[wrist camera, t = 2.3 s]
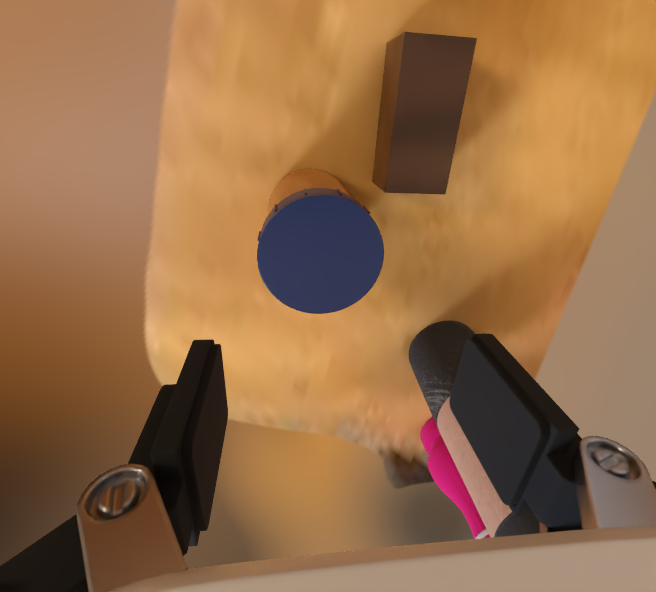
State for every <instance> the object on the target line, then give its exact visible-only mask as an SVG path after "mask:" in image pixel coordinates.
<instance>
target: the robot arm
mask: <svg viewBox="0 0 656 592" xmlns="http://www.w3.org/2000/svg"><path fill="white" fill-rule="evenodd" d="M449 403H450V408H451V411H452V413H453V414H454V416H455V418H456V420H457V422H458V423H459V425H460V427H461V429H462V431H463V432H464V434H465V436H466V438H467V440H468V441H469V443H470V445H471V447H472V449H473V450H474V452H475V454H476V456H477V458H478V459H479V461H480V463H481V465H482V467H483V468H484V470H485V472H486V474H487V476H488V477H489V479H490V481H491V483H492V485H493V486H494V488H495V490H496V492H497V494H498V496H499V497H500V499H501V501H502V502H503V503H504V504H505V505H508V506H509V507H510V509H511V511H512V513H513V514H514V516H515V517H526V516H533V515H534V514H535V516H536V517H537V519H538V521H539V528H540V533H537V534H526V535H515V536H503V537H492V538H481V539H471V540H460V541H449V542H439V543H428V544H418V545H407V546H397V547H387V548H377V549H367V550H356V551H346V552H336V553H327V554H316V555H306V556H297V557H286V558H277V559H267V560H259V561H251V562H242V563H234V564H226V565H217V566H209V567H201V568H196V569H190V570H188V568H187V565H186V562H185V559H184V557H183V556H184V555H185V554H186V553H187V550H188V546H197V544H198V539H199V534H200V531H206V530H207V528H208V525H209V520H210V514H211V508H212V503H213V498H214V492H215V486H216V481H217V475H218V470H219V464H220V458H221V453H222V447H223V442H224V436H225V430H226V425H227V419H228V407H227V398H226V388H225V379H224V370H223V361H222V352H221V345H220V344H214V340H194V341H193V342H192V345H191V347H190V350H189V353H188V355H187V358H186V360H185V363H184V365H183V368H182V371H181V373H180V376H179V378H178V381H177V384H173V385H164V386H162V388H161V389H160V391H159V394H158V396H157V398H156V401H155V403H154V405H153V407H152V410H151V412H150V414H149V417H148V419H147V421H146V424H145V426H144V428H143V430H142V433H141V435H140V437H139V439H138V442H137V444H136V446H135V449H134V451H133V453H132V455H131V458H130V460H129V462H128V464H124V465H120V466H117V467H114V468H111V469H109V470H107V471H106V472H104V473H102V474H100V475H99V476H98V477H96V478H95V479H94V480H93V481H92V482H91V483H89V485H88V486H87V487H86V488H85V490H84V491H83V492H82V494H81V496H80V498H79V501H78V503H77V512H76V515H74V516H73V517H72V518H70V519H69V520H67V521H66V522H64V523H63V524H61V525H60V526H59V527H57V528H55V529H54V530H53V531H51V532H50V533H48V534H47V535H45V536H44V537H42V538H41V539H39V540H38V541H36V542H35V543H34V544H32V545H31V546H29V547H28V548H26V549H25V550H23V551H22V552H20V553H19V554H18V555H16V556H14V557H13V558H12V559H10V560H9V561H7V562H6V563H4V564H3V565H1V566H0V592H656V482H654V481H652V479H651V477H650V474H649V472H648V470H647V468H646V466H645V464H644V463H643V462H642V461H641V460H640V459H639V457H637V455H635V454H634V453H633V452H632V451H630V450H629V449H628V448H626V447H624V446H623V445H621V444H619V443H618V442H615V441H613V440H610V439H608V438H603V437H599V436H588V437H585V438H583V439H582V438H581V437H580V436H579V435H578V434H577V432H578V430H579V428H578V427H577V426H576V425H575V424H574V423H573V421H572V420H571V419H570V418H569V417H568V416H567V415H566V414H565V413H564V412H563V410H562V409H561V408H560V407H559V406H558V405H557V404H556V403H555V402H554V401H553V400H552V399H551V397H550V396H549V395H548V394H547V393H546V392H545V391H544V390H543V389H542V388H541V387H540V385H538V383H537V382H536V381H535V380H534V379H533V378H532V377H531V376H530V375H529V374H528V372H527V371H526V370H525V369H524V368H523V367H522V366H521V365H520V364H519V363H518V362H517V361H516V359H515V358H514V357H513V356H512V355H511V354H510V353H509V352H508V351H507V350H506V349H505V347H504V346H503V345H502V344H501V343H500V342H499V341H498V340H497V339H496V338H495V337H494V336H493V335H492V334H474V335H472V336H471V338H470V339H467V340H466V342H465V346H464V349H463V353H462V356H461V360H460V364H459V367H458V371H457V374H456V378H455V382H454V385H453V389H452V392H451V396H450V400H449Z"/></svg>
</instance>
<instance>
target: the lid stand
mask: <svg viewBox="0 0 656 592" xmlns="http://www.w3.org/2000/svg"><path fill="white" fill-rule="evenodd" d="M475 44H476V38H469V37H457V36H445V35H434V34H422V33H410V32H404V33H402V34H401V35H399V36H398V37H396V38H394V39H393V40H391V41H389V42H388V43H387V47H386V56H385V66H384V75H383V85H382V94H381V104H380V113H379V123H378V132H377V141H376V151H375V160H374V170H373V179H372V182H374V183H375V184H376V185H377V186H378V187H379V188H380V189H382V190H383V191H384V192H388V193H421V194H445V193H446V188H447V183H448V178H449V173H450V168H451V163H452V158H453V153H454V148H455V143H456V138H457V133H458V128H459V123H460V118H461V114H462V109H463V104H464V99H465V94H466V89H467V84H468V79H469V74H470V69H471V64H472V59H473V54H474V49H475Z"/></svg>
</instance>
